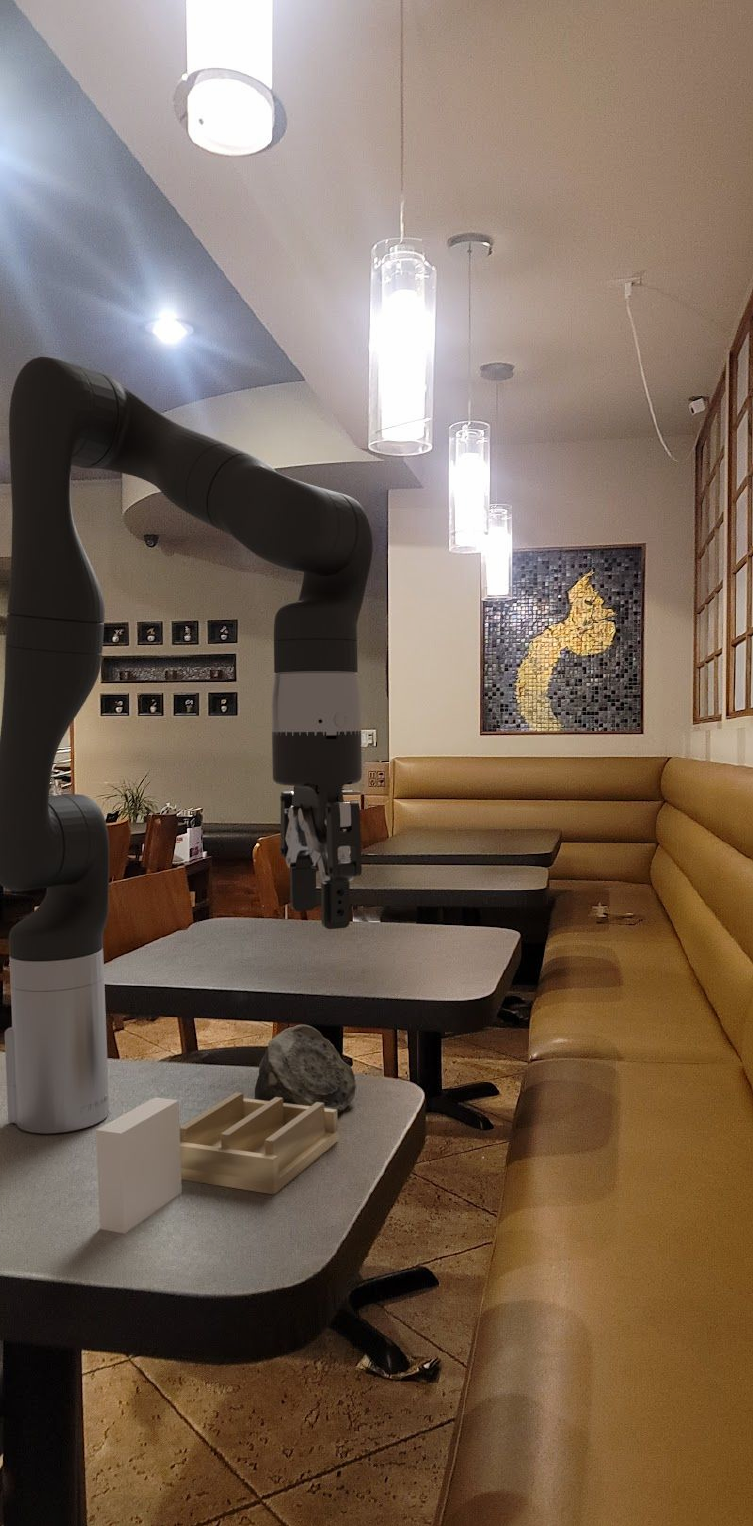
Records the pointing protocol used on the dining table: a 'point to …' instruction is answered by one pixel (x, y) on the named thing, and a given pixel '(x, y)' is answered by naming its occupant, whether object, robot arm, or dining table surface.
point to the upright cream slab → (138, 1164)
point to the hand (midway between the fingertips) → (319, 918)
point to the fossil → (304, 1071)
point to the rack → (255, 1142)
